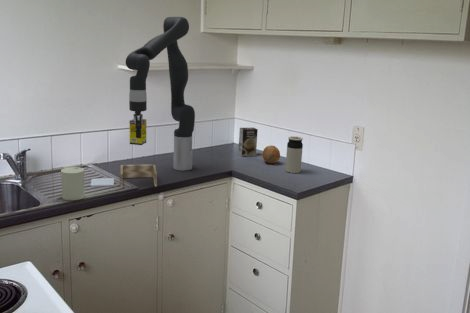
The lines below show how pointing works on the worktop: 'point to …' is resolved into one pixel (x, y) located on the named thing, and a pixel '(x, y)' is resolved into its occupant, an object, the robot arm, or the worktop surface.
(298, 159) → the travel mug
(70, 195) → the can
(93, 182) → the pad
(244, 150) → the coffee box
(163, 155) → the worktop surface
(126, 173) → the open wooden frame
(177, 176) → the worktop surface
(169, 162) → the worktop surface
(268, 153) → the onion
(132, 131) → the supplement box
